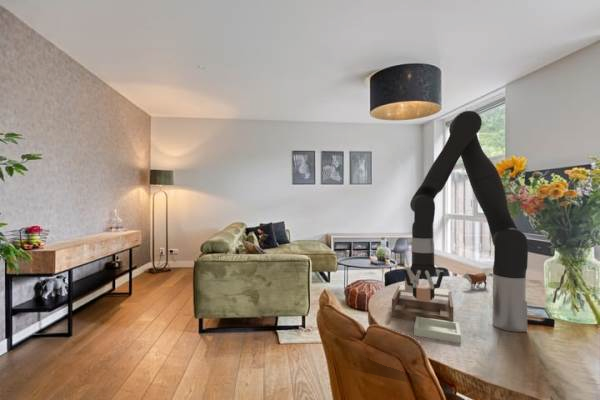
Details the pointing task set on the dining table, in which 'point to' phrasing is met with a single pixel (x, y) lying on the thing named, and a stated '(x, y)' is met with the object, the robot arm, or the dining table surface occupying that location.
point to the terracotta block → (423, 293)
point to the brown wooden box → (421, 308)
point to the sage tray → (437, 329)
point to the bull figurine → (475, 279)
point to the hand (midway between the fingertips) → (423, 298)
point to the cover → (410, 289)
